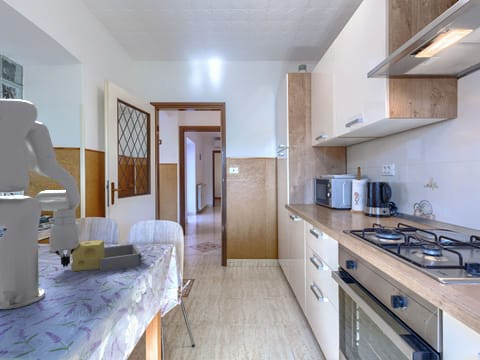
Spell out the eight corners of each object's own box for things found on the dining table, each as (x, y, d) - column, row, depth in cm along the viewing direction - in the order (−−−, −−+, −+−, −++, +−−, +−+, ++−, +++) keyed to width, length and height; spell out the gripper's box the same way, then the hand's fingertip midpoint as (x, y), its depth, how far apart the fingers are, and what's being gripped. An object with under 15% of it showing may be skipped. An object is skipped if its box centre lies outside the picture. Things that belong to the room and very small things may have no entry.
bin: (141, 265, 114) (140, 253, 114) (100, 272, 107) (100, 259, 107) (134, 254, 132) (134, 243, 132) (99, 258, 125) (99, 247, 125)
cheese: (71, 272, 107) (70, 246, 107) (79, 263, 118) (79, 240, 118) (100, 269, 110) (99, 244, 110) (105, 261, 120) (105, 239, 120)
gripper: (40, 223, 103) (41, 272, 103) (85, 220, 110) (86, 265, 110) (43, 221, 109) (44, 266, 110) (86, 218, 117) (86, 260, 117)
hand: (65, 265), depth 110 cm, fingers closed
